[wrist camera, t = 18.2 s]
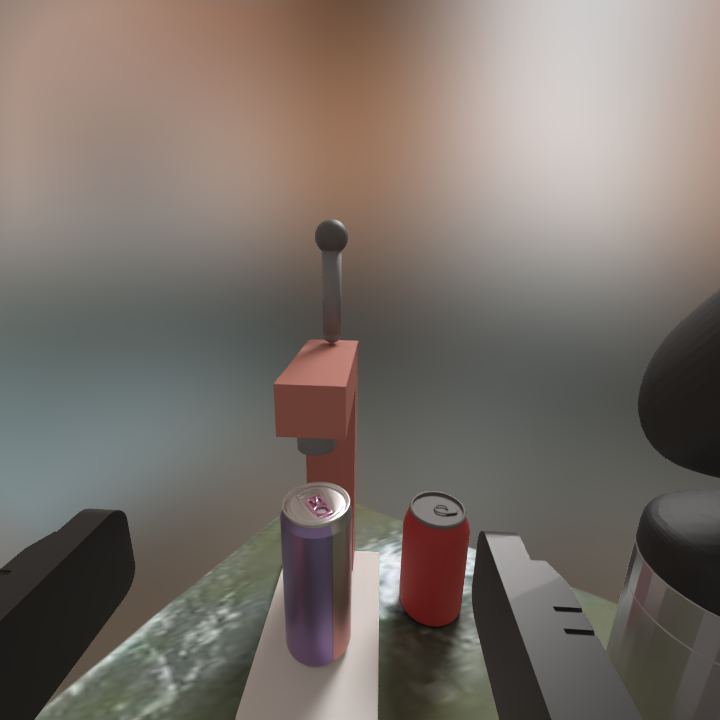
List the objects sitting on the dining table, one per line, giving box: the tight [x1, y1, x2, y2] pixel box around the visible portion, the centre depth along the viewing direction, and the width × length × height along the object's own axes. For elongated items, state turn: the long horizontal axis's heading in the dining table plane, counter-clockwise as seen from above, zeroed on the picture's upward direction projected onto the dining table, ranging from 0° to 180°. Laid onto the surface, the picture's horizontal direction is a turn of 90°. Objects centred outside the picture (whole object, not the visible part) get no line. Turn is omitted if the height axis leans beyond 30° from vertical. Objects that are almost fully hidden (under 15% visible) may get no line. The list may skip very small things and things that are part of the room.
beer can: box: [399, 491, 470, 627], centre depth 40 cm, size 7×7×12 cm
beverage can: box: [280, 482, 353, 668], centre depth 34 cm, size 6×6×15 cm
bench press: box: [235, 220, 380, 720], centre depth 33 cm, size 11×18×39 cm, turn 177°
